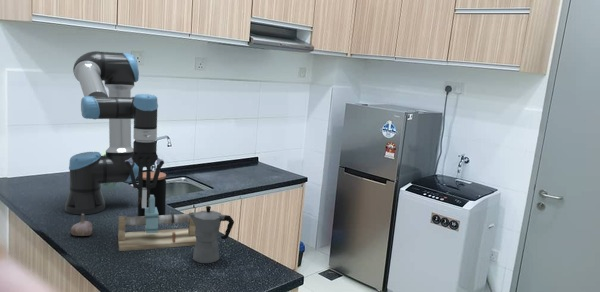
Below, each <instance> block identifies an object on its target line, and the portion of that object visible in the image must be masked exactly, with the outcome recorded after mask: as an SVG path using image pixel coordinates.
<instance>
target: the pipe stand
mask: <svg viewBox="0 0 600 292" xmlns="http://www.w3.org/2000/svg"><path fill="white" fill-rule="evenodd" d="M190 213H193V211H192V212H189V213H181V214H180V213H178V214H174V213H172V214H171V213H170V214H165V215H158V225H162V224H166V225H167V224H178V223H179V224H181V223H188V228H173V229H172V228H171V229H161V230H160V229H158V233H146V231H145V230H143V231H141V230H140V231H129V232H128V231H127V232H126V227H129V226H145V225H146V216H138V215H137V216H125V215H119V216H118V233H117V234H118V235H117V238H118V242H117V243H118V252H127V251H139V250H140V251H141V250H150V249H152V250H155V249H165V248H166V249H168V248H177V247H178V248H179V247H191V246H193V247H194V246H195V243H196V239H197V236H196V226H195V224H194V222H193V220H192V218H191V217H190V216H189V214H190Z"/></svg>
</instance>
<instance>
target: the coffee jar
mask: <svg viewBox="0 0 600 292" xmlns="http://www.w3.org/2000/svg"><path fill="white" fill-rule="evenodd" d="M154 174H155V171H151V180H150V184H151V183H152V181H153V177H154ZM137 177H139V174H138V176H137ZM166 178H167V174H166V173H165V172H161V171H160V173H159V177H158V180H157V184H156V187H154V188H151V189H150V195H154V198H155V207H157V210H158V215H166V202H167V201H166V199H167V196H166V195H167V180H166ZM137 182H139V180H138V181H137ZM142 188H146V171H143V187H142ZM147 208H149V198H147ZM137 216H145V208H142V198H139V197H138V196H137Z"/></svg>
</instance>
